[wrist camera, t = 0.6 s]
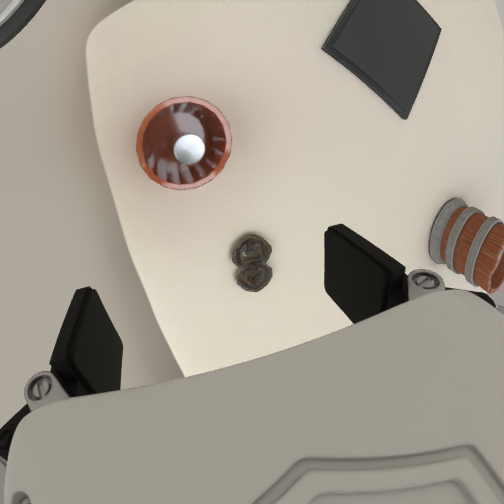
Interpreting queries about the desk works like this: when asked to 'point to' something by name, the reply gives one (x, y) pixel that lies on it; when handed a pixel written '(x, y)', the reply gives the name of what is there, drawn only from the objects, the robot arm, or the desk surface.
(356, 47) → the tablet
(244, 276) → the corroded twin loop
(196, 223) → the desk surface
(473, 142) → the desk surface
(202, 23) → the desk surface
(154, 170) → the holder
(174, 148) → the stylus
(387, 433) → the robot arm
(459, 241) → the mug
